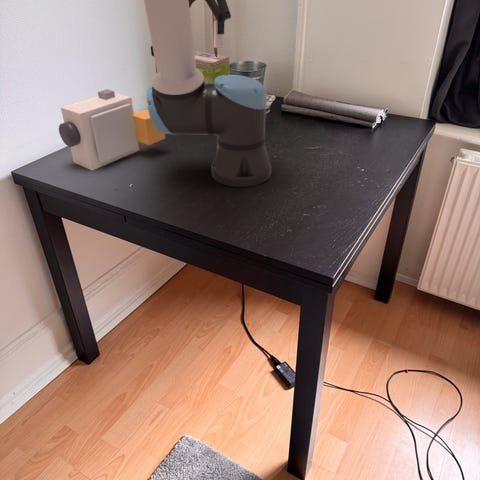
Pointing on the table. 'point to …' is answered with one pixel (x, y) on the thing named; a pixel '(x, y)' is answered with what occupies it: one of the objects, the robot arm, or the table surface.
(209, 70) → the tea box
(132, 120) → the side door
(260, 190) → the table surface
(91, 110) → the camera housing
